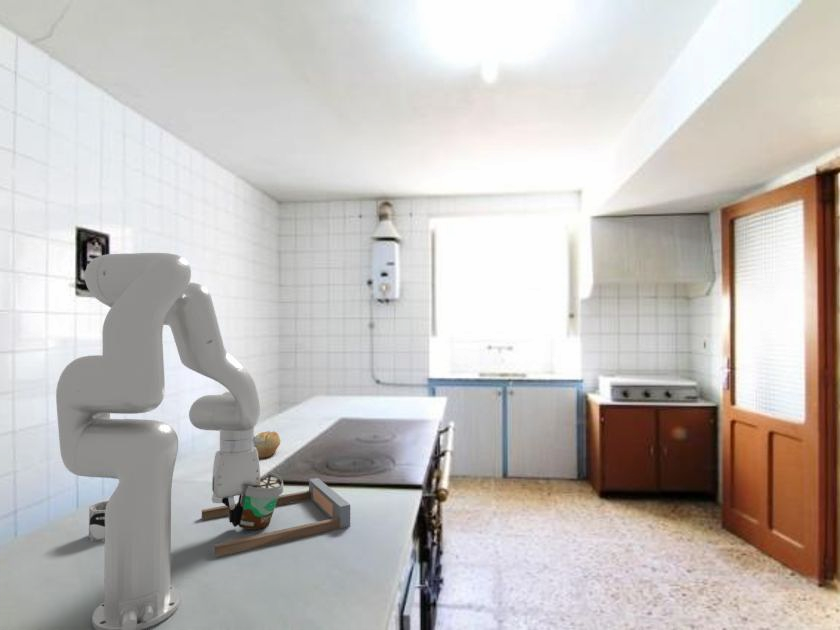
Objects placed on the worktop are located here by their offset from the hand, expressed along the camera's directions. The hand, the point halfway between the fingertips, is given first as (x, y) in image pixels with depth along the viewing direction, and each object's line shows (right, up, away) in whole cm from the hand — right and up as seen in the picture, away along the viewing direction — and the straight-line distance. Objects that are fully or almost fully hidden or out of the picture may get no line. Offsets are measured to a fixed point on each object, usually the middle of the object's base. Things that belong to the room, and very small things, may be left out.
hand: (236, 524), depth 112 cm
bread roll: (-14, -3, +65) cm, 67 cm away
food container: (+5, -1, +2) cm, 5 cm away
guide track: (+6, -1, +4) cm, 8 cm away
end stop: (+19, -2, +11) cm, 22 cm away
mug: (-27, -2, -2) cm, 27 cm away
